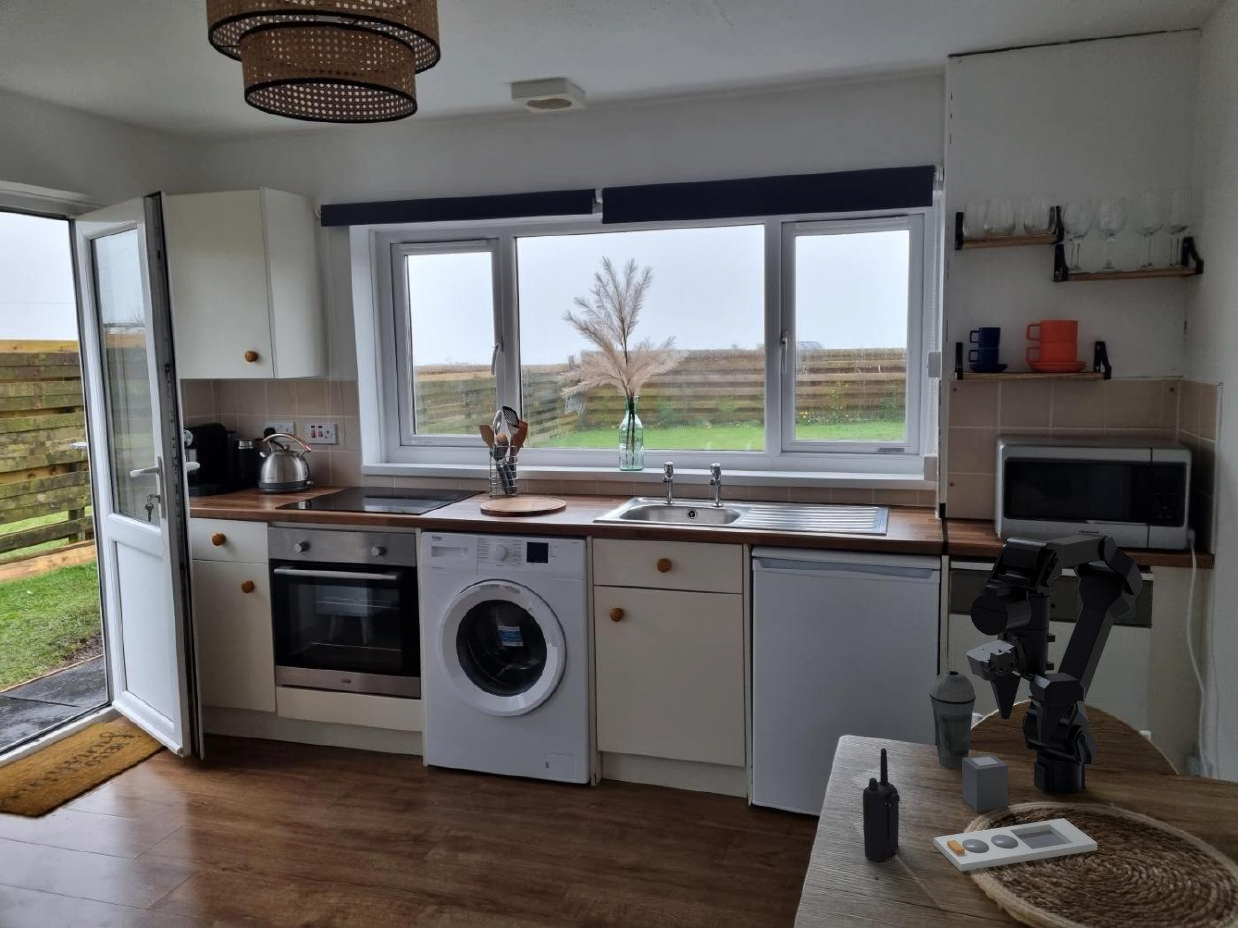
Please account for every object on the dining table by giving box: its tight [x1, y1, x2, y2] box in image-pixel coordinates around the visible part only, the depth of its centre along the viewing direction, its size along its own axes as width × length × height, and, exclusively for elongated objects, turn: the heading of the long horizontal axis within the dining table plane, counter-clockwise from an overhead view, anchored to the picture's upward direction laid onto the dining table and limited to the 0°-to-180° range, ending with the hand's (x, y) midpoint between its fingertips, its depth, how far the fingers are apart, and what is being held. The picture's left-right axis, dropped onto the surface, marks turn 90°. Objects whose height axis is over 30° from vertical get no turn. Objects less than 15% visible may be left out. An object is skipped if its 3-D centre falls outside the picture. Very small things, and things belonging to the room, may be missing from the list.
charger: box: [961, 753, 1009, 813], centre depth 139 cm, size 5×4×7 cm
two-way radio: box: [862, 747, 901, 862], centre depth 128 cm, size 6×4×15 cm
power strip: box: [933, 817, 1098, 872], centre depth 127 cm, size 20×7×3 cm, turn 100°
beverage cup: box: [929, 645, 977, 769], centre depth 155 cm, size 7×7×20 cm
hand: (1023, 729), depth 136 cm, fingers open, 9 cm apart
